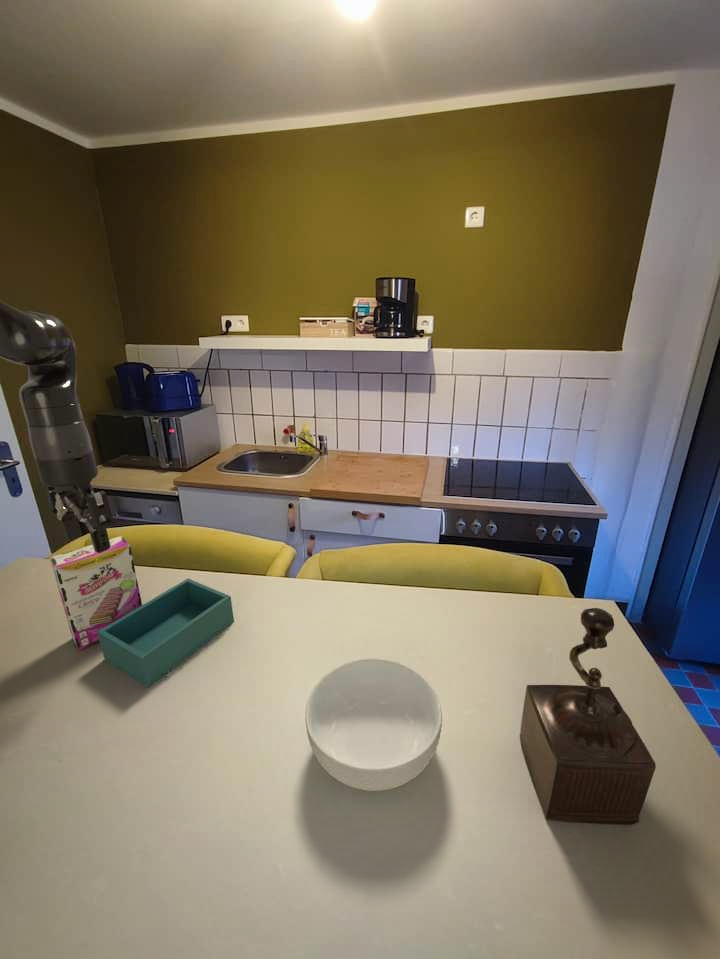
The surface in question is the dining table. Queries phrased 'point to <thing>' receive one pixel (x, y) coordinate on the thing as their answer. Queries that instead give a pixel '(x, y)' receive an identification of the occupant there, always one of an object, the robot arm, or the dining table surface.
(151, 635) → the open rectangular box
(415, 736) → the cereal bowl
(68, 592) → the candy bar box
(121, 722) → the dining table surface
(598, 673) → the manual coffee grinder
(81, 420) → the robot arm
